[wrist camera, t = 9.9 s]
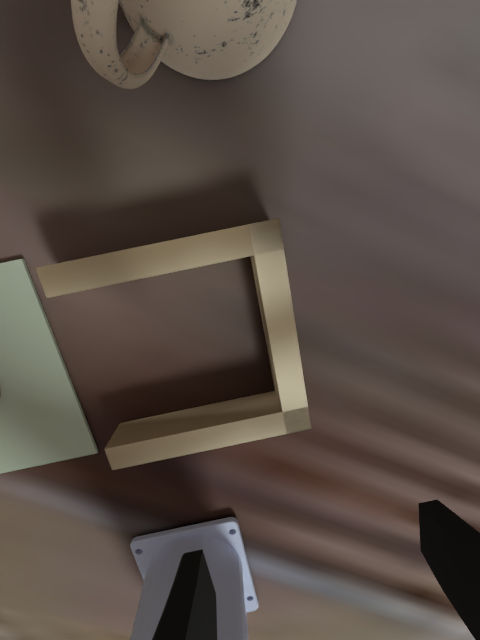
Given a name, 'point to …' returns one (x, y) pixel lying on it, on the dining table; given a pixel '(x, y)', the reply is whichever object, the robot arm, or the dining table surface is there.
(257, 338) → the dining table surface
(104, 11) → the teacup with lid
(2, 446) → the felt mat
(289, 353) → the frame
